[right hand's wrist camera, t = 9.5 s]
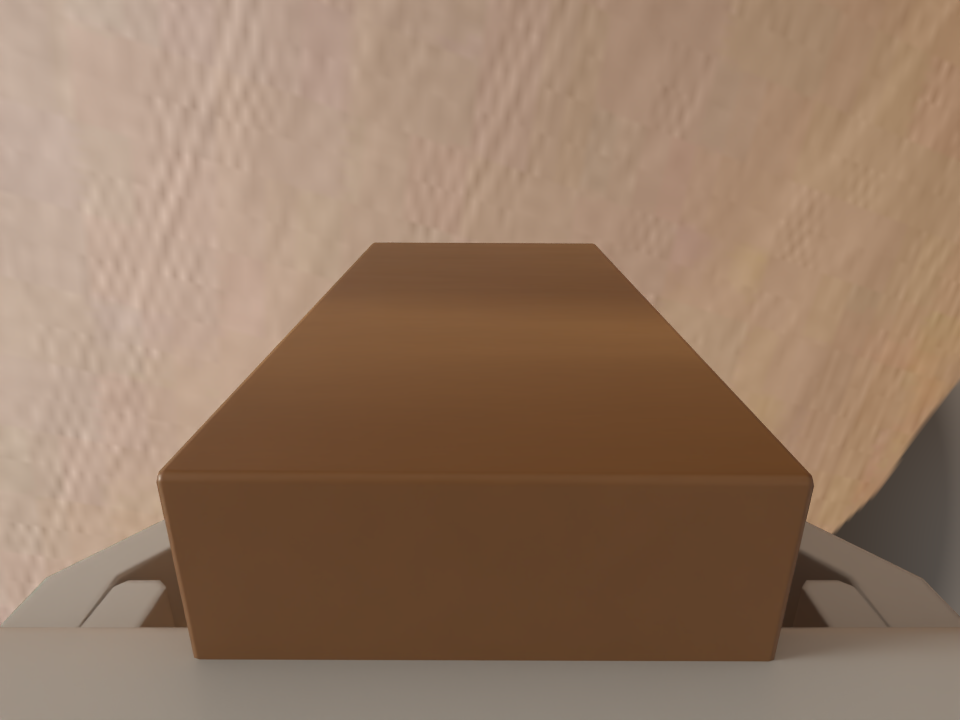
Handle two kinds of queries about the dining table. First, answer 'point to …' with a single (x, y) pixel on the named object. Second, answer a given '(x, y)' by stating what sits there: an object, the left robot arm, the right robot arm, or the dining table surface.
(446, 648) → the bar
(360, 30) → the dining table surface
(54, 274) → the dining table surface
